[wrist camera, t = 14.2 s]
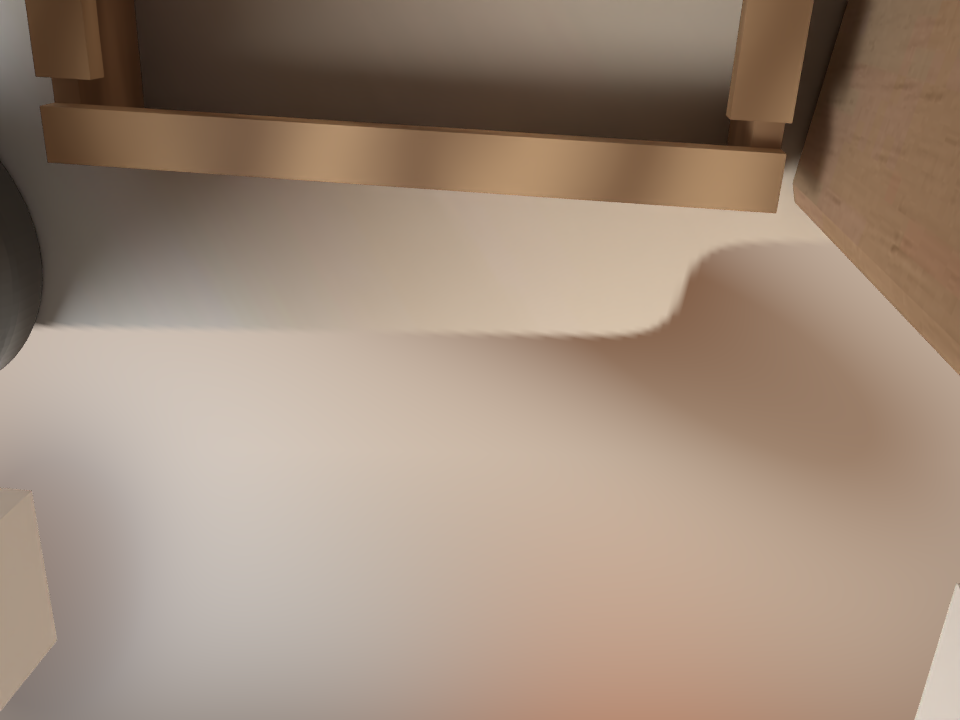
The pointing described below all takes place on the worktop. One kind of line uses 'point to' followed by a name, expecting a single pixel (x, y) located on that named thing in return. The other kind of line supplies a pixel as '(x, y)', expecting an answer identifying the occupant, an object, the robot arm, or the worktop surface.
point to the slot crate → (415, 127)
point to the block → (893, 158)
